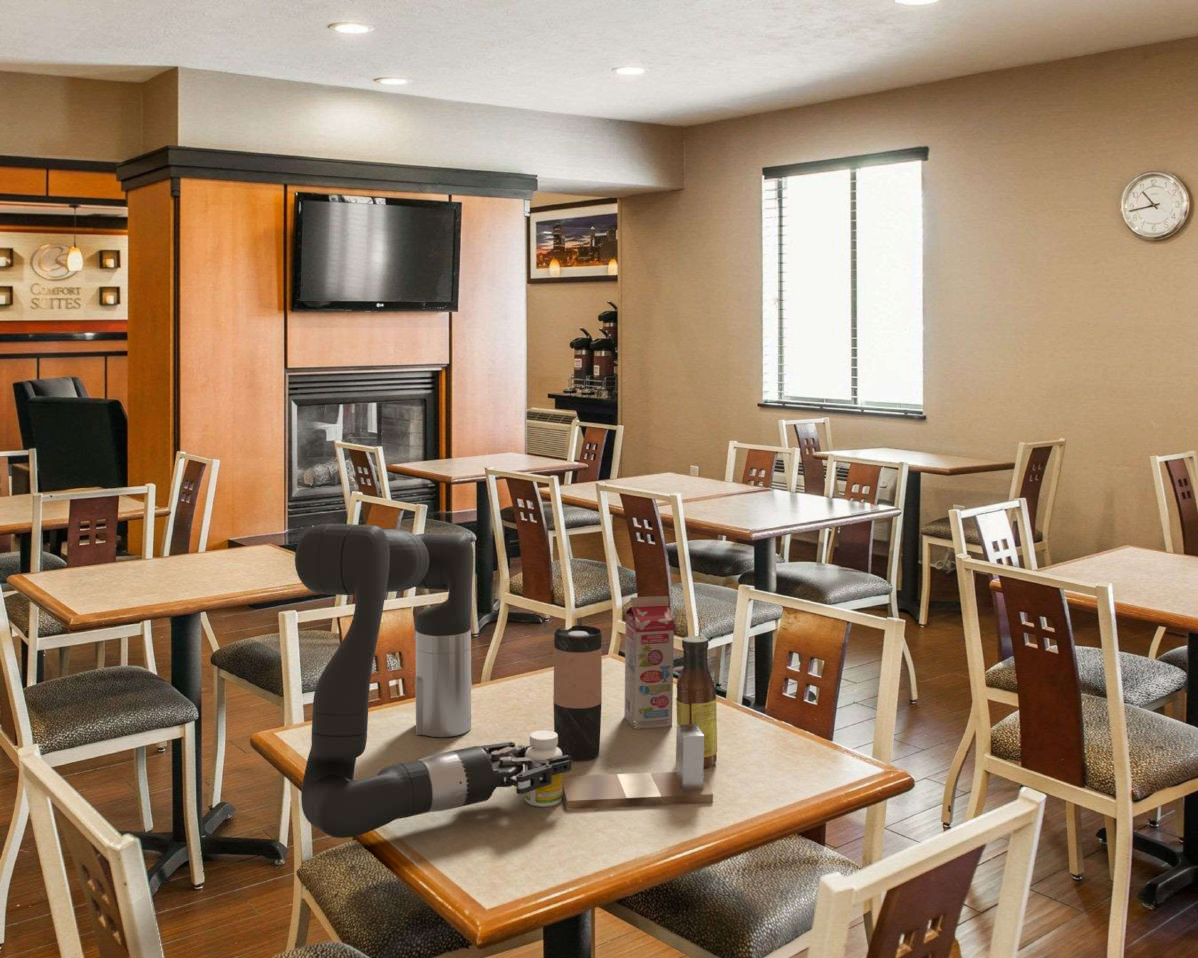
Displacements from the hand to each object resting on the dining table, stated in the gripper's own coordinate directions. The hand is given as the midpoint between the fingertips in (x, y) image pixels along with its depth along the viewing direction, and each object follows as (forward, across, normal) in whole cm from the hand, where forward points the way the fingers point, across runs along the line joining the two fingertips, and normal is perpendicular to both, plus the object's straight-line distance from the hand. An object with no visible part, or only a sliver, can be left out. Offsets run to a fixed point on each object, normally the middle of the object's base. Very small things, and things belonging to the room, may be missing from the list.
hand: (558, 756), depth 166 cm
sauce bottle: (+25, 0, +6) cm, 26 cm away
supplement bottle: (-3, 0, +6) cm, 7 cm away
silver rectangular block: (+17, -8, +5) cm, 20 cm away
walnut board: (+10, -5, +6) cm, 13 cm away
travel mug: (+11, +13, +6) cm, 19 cm away
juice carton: (+30, +20, +6) cm, 37 cm away
